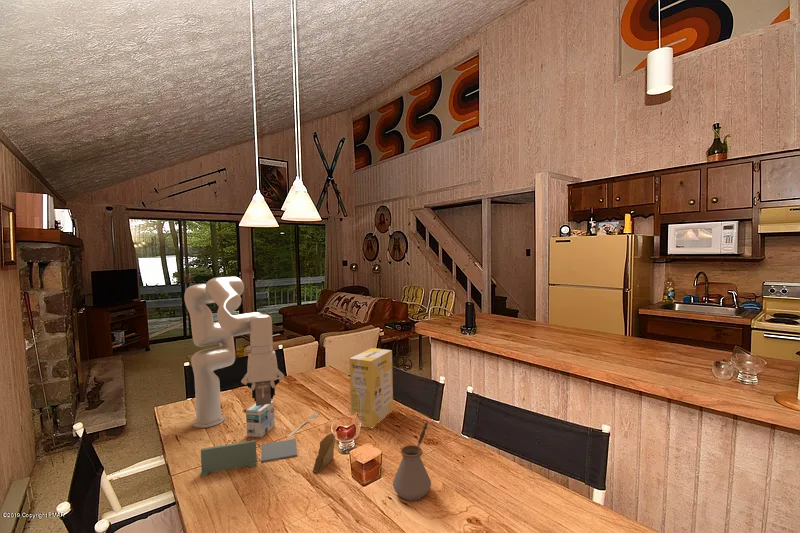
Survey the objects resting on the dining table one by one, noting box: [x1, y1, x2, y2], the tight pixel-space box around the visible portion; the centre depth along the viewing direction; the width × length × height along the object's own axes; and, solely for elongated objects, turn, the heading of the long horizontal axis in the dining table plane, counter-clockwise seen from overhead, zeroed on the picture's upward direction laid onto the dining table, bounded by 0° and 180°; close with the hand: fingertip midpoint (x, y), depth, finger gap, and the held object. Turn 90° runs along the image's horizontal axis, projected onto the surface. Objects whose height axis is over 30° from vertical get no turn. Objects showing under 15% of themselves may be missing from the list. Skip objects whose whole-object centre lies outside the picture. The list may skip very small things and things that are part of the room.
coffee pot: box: [392, 421, 432, 501], centre depth 117 cm, size 21×12×15 cm, turn 158°
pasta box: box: [348, 347, 394, 427], centre depth 163 cm, size 18×10×28 cm, turn 153°
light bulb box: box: [245, 400, 276, 438], centre depth 153 cm, size 11×7×11 cm, turn 168°
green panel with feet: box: [200, 439, 258, 477], centre depth 127 cm, size 4×17×8 cm, turn 108°
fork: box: [287, 411, 320, 438], centre depth 157 cm, size 3×24×2 cm, turn 160°
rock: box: [312, 432, 336, 473], centre depth 129 cm, size 11×9×10 cm
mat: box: [260, 438, 298, 463], centre depth 138 cm, size 12×12×1 cm
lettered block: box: [255, 381, 272, 406], centre depth 136 cm, size 6×5×8 cm
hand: (263, 398), depth 136 cm, fingers closed on lettered block, 5 cm apart
